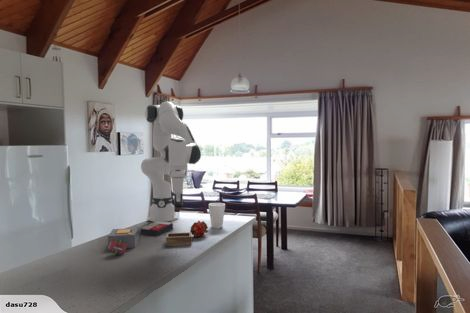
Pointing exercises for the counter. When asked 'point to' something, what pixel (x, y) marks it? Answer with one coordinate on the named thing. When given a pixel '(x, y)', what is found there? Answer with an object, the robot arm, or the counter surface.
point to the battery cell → (178, 204)
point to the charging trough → (178, 239)
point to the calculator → (157, 228)
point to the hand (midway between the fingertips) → (178, 200)
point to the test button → (123, 231)
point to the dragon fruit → (199, 229)
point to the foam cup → (216, 214)
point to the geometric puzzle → (117, 246)
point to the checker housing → (124, 237)
